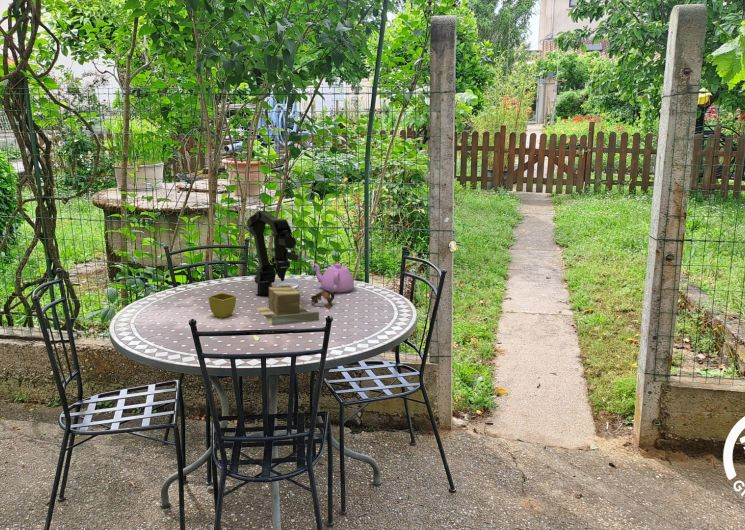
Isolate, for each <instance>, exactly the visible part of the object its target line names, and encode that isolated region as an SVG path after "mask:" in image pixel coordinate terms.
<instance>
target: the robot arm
mask: <svg viewBox="0 0 745 530" xmlns="http://www.w3.org/2000/svg"><path fill="white" fill-rule="evenodd" d="M246 225H247V228H248V232H249V233H250V234H251V235H252V237H253V239H254V245H255V249H256V254H257V259H258V260H257V261H258V266H257V271H256V272H257V273H256V275H255V277H254V283H255V284H256V285H257V293H255V296H259V297H265V298H269V287H274V286H273V284H275V282H276V276H277V277H278V278H279V279H280V281H281V282H284V281H285V278H286V273H287V270H289V269H290V267H291V261H294V262H296V263H298V261H299V257H300V255H299V254H298V253H296V251H295V250H294V249H293V248H295V247H296V244H297V240H296V238H295V237H294V236H293V232H292V229H291V227H290V225H289V222H288V221H287V219H286V218H285V219H284V218H278V217H276V216H274V215H272V214H271V213H270V212H269V211H268V210H258V211H256V212H255V213H254V214H253V215H250V217H249V218H248V219H247V221H246ZM266 225H268V226H269V228H270V230H271V231H272V237H273V252H274V253H273V254H274V255H273V256H272V257H271V262H272V263H271V262H270V260H269V255H268V251H267V246H266V241H265V235H264V233H265V230H266ZM288 249H289V250H290V251H289V250H288ZM291 249H293V250H291ZM289 260H291V261H289Z"/></svg>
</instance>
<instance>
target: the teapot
mask: <svg viewBox="0 0 745 530" xmlns="http://www.w3.org/2000/svg"><path fill="white" fill-rule="evenodd" d="M312 264H313V266H314V267H315V270H316V280H317V281H318V282H319V283H320V286H321V287H322V289H323V291H325V292H328V293H329V292H333V293H347V292H350V291H351V290H352V289H353V288H354V286H355V281H354V277H353V275H352V273H351V271H350V269H349V267H347V266H344V265H342V263H334V265H330V266H328V267H327V268H326V269H325V271H324V273H323V274H322V273H321V267H320V265H318V263H314V262H313V263H312Z"/></svg>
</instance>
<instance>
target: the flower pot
mask: <svg viewBox="0 0 745 530" xmlns="http://www.w3.org/2000/svg"><path fill="white" fill-rule="evenodd" d="M236 301H237V295H234V294H230V293H225V292H220V293H218V294H213V295H210V296H208V302H209V307H210V311H211V313H212V314H213V315H214V316H215V317H219V318H222V319H223V318H226V317H230V316H232V314H233V313H234V311H235V308H236Z"/></svg>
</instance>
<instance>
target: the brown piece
mask: <svg viewBox="0 0 745 530" xmlns="http://www.w3.org/2000/svg"><path fill="white" fill-rule="evenodd" d="M335 297H336V296H335V292H329V291H328V292H326V290H321V291H320V292H318V293H316V294H315V295H312V296H311V297H310V299H311V303H315V304H318V303H319V301H322V298H323V299H325V300H326V301H327V303H326V304H324V306H325V307H326V309H327V308H328V309H329V308H332V307H333V300H334V299H335Z"/></svg>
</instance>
